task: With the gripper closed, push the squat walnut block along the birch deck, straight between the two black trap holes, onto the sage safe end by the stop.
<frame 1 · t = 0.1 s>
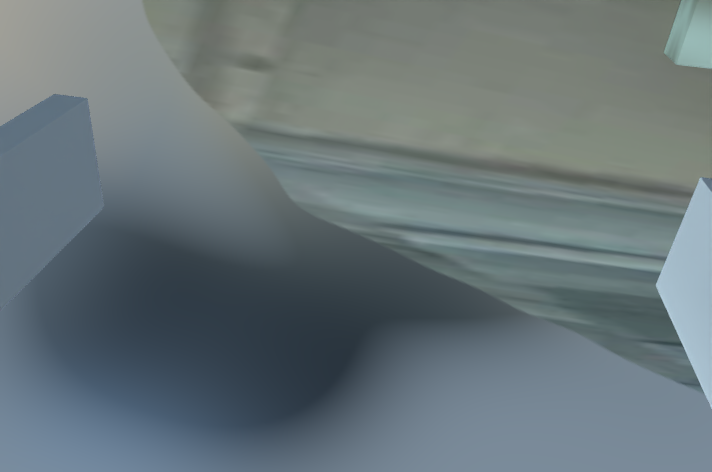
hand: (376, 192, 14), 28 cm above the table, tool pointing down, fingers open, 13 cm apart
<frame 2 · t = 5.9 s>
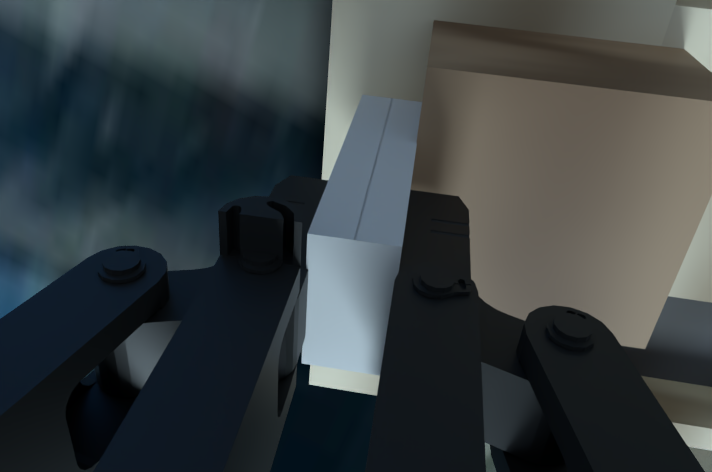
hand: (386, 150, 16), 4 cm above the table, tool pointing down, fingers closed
block: (529, 147, 17), point 3 cm above the table, touching gripper, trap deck
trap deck: (706, 140, 19), on the table
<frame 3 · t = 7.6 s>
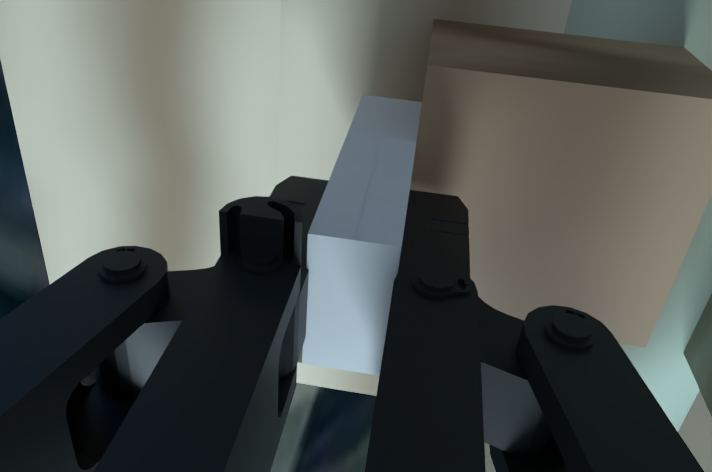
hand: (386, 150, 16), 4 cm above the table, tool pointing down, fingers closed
block: (529, 146, 17), point 2 cm above the table, touching gripper, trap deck
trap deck: (394, 100, 19), on the table
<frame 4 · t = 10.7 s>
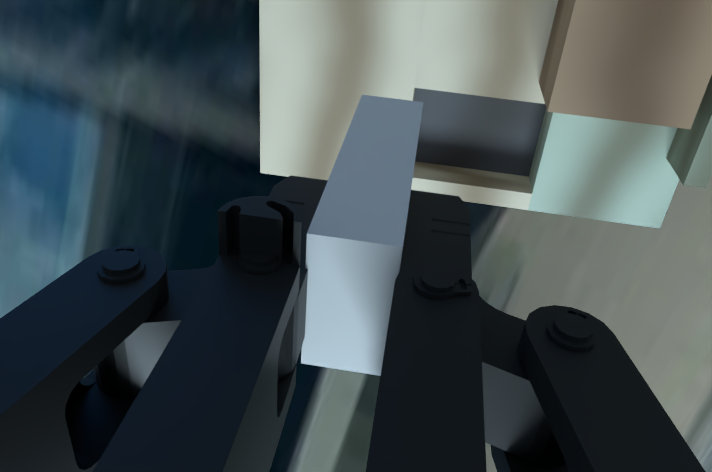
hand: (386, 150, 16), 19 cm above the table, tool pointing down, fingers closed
block: (620, 26, 29), point 2 cm above the table, touching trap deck
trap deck: (487, 1, 31), on the table
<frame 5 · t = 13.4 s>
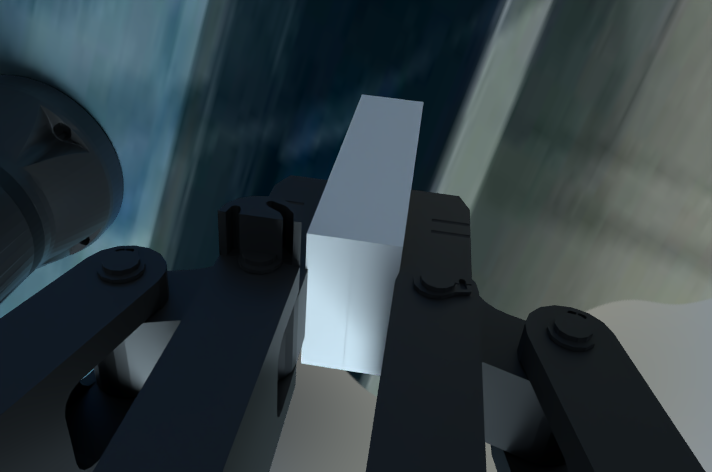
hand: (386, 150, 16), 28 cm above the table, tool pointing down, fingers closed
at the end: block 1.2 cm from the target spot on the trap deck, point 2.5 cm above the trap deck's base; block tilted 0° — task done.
